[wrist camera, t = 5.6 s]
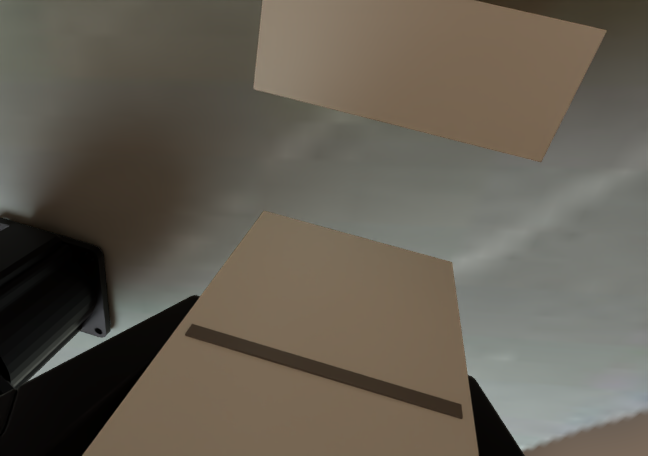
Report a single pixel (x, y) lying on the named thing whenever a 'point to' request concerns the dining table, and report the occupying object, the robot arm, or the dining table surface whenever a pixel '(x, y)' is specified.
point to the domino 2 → (307, 357)
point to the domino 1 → (429, 66)
